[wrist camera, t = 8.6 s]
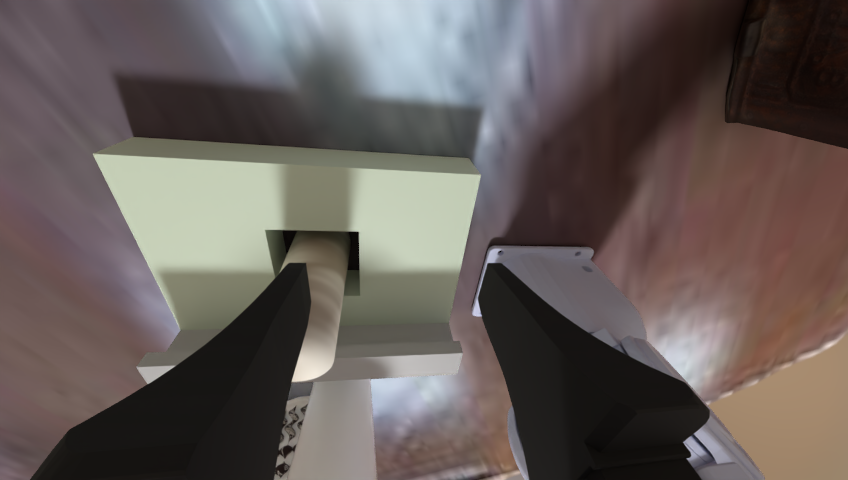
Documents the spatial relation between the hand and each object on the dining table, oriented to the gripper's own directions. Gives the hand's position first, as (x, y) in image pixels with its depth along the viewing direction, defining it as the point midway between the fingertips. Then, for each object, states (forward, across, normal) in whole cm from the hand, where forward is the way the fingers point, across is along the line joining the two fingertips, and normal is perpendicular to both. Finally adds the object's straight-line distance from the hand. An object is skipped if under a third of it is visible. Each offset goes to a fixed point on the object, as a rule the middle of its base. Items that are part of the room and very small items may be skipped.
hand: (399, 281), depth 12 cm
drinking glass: (+10, +4, +20) cm, 23 cm away
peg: (+10, +5, +5) cm, 13 cm away
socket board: (+10, +5, +5) cm, 13 cm away
